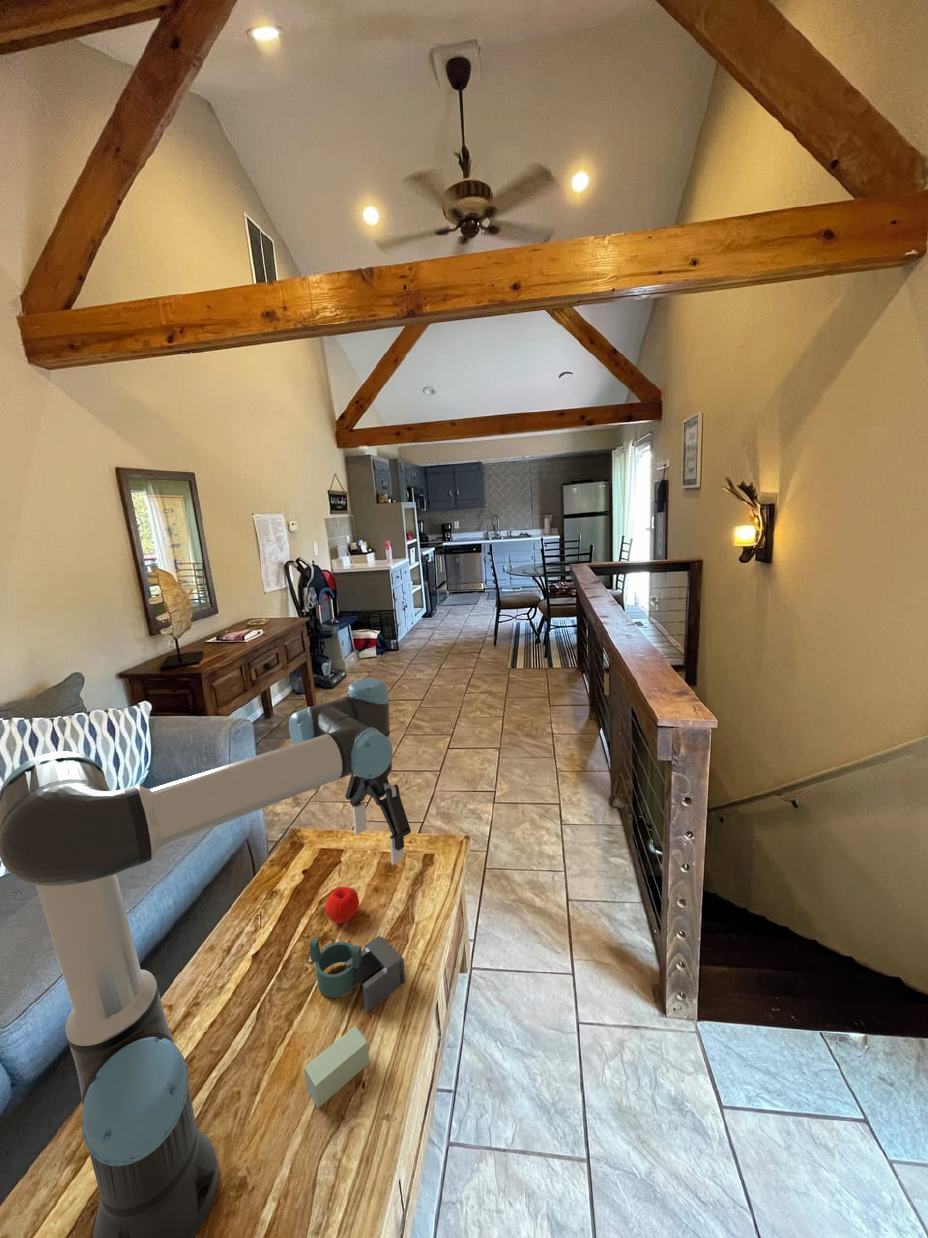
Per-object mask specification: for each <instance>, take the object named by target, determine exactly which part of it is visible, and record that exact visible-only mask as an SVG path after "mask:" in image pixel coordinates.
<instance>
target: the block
mask: <svg viewBox="0 0 928 1238" xmlns="http://www.w3.org/2000/svg"><path fill="white" fill-rule="evenodd" d="M368 1047H369V1046H368V1041H367V1039H366V1038H365V1036H364V1034H362V1033H361V1032H360V1030H359V1029H358V1027H357V1026H356V1025H354V1026H353V1027H352V1028H351V1029H349V1030H347V1032H345V1034H343V1035H342V1036H341V1037H339V1038H338V1039H336V1041H334V1042H333V1043H332V1044H331V1045H330V1046H328V1047H327V1048H326V1049H324V1050H323V1051H322V1052H320V1054H318V1055H317V1056H316V1057H315V1058H314V1059H312V1060H311V1061H310V1062H308V1063H306V1065H305V1066H304V1067H303V1070H304V1072H303V1073H304V1080H305V1086H306V1087H305V1089H306V1091H307V1092H308V1094H309V1096H310V1098H311V1099H312V1101H313V1103H314V1105H315V1107H316V1108H317V1109H319V1108H320V1107H321V1106H322V1105H324V1104H325V1103H326V1102H327V1101H328V1100H329V1099H331V1098H332V1097H333V1096H334V1095H335V1094H336V1093H337V1092H338V1091H339V1090H341V1089H342V1088H343V1087H344V1086H345V1085H346V1084H347V1083H349V1082H350V1081H351V1080H353V1078H354V1077H355V1076H356V1075H358V1073H360V1072H361V1071H362V1070H363V1069H364V1068H366V1067H367V1066H368V1065H369V1064H370V1060H369V1059H370V1058H369V1048H368Z"/></svg>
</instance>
